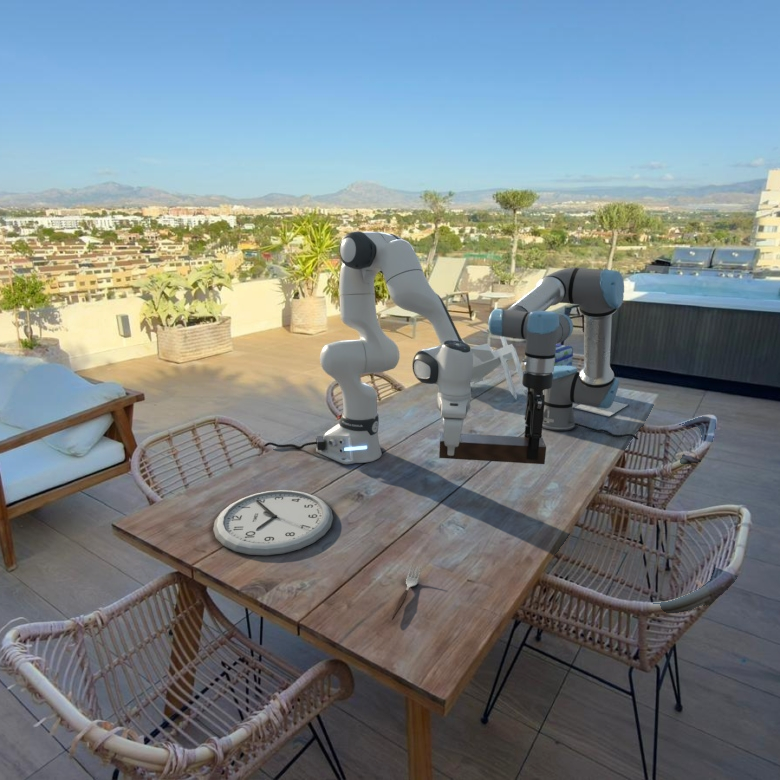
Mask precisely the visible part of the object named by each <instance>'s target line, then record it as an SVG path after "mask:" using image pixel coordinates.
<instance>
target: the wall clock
mask: <svg viewBox="0 0 780 780" xmlns="http://www.w3.org/2000/svg"><path fill="white" fill-rule="evenodd" d="M333 520H334V516H333V511H332V509H331V507H330V506H329V505H328V503H327V502H325V501H324V500H322V499H321V498H320V497H318V496H315V495H313V494H310V493H307V492H303V491H298V490H287V489H286V490H285V489H280V490H279V489H277V490H267V491H262V492H258V493H257V492H256V493H253V494H250V495H247V496H245V497H241V498H240V499H238V500H236V501H234V502H233V503H230V504H229V505H228V506H227V507H225V508H224V509H223V510H222V511H220V512H219V513H218V516H217V517H216V518H215V519H214V523H213V529H212V530H213V533H214V536H215V540H217V541H218V542H219V543H220V544H221V545H222V546H223V547H225V548H227V549H229V550H231V551H233V552H236V553H241V554H244V555H249V556H250V555H251V556H252V555H253V556H273V555H281V554H282V555H283V554H286V553H292V552H294V551H299V550H301V549H304V548H305V547H307V546H310V545H312V544H314V543H316V542H317V541H319V540H320V539H321V538H323V537H324V536H325V535H326V534H327V533H328V532H329V530H330V529H331V527H332V525H333Z"/></svg>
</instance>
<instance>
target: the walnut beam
mask: <svg viewBox="0 0 780 780" xmlns="http://www.w3.org/2000/svg"><path fill="white" fill-rule="evenodd" d="M528 438H529V437H524V436H513V435H512V436H511V435H494V434H477V433H476V434H475V433H461V437H460V442H459V445H458V447H455V449H454V455H453V456H449V455H448V454H447V451H448V447H447V446H445V443H444V432H440V436H439V451H438V452H439V454H438V455H439V456H438V457H439V459H447V460H449V459H450V460H462V461H463V460H467V461H480V462H482V461H483V462H497V463H514V464H515V463H516V464H517V463H518V464H531V465H533V464H534V465H545V463H546V456H547V455H546V454H547V445H546V443H545V441H544V439H543V438H544V437H541V438H540V439H539V449H538V459H537V460H531V459H527V449H528Z"/></svg>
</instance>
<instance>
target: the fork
mask: <svg viewBox="0 0 780 780" xmlns="http://www.w3.org/2000/svg"><path fill="white" fill-rule="evenodd" d="M412 568H413V565H410V569H409V572H408V574H407V577H406V579H405V584H406V589H405V590H404V591H403V593H402V594H401V596H400V597H399V599H398V601H397V604H396V607H395V609H394V612H393V614H392V617H391V620H394V619H395V617H396V615H397V614H398V613H399V611H400V609H401V608H402V607H403V605H404V603H405V601H406V598H407V596H408V592H409V590H410V588H413V587H415V586H417V585H418V583H419V579H420V575H421V572H422V568H420V569H419V567H416V566H414V568H413V569H412ZM415 569H416V571H415ZM418 570H419V572H418Z"/></svg>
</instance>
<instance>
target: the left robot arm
mask: <svg viewBox="0 0 780 780" xmlns="http://www.w3.org/2000/svg"><path fill="white" fill-rule="evenodd" d="M338 251H339V252H338V254H339V257H340V260H341V262H342V264H341V266H340V271H339V281H338V293H339V309H340V310H339V311H340V312H339V313H340V320H341V322H342V323H343V324H344V325H345V326H347V327H348V328H351V329H353V330H355V331H356V332H357V333H358V336H359V339H350V340H349V339H348V340H347V339H346V340H337V341H333V342H330V343H327V344H325V345H324V346H323V347H322V348H321V351H320V354H319V365H320V366H321V368H322V370H323V372H324V373H325V374H327V375H328V376H330V378H332V379H333V380H335V382H336V383H337V385H338V386H339V388H340V391H341V396H342V406H343V407H342V408H343V409H342V413H340V414H339V415H337V416H336V420H339V421H338V423H336V425H334V426H332V427H331V428H330V429H328V430H327V431H325V433H324V435H316V436H315V441H310V442H305V443H303V444H301V445H298V444H293V443H286V444H279V443H275V442H272V441H268V442H266V443H265V444H264V445H263V447H265V448H266V447H268V446H273V447H277V448H295V449H301V450H302V449H303V448H304V447H307V446H312V445H313V446H314V445H316V447H315V453H318V454H320V455H322V456H324V457H326V458H329V459H331V460H334V461H335V462H338V463H339V464H342V465H352V464H364V463H370V462H371V463H372V462H374V461H376V460H378V459H380V458H381V457H382V455H383V453H382V452H383V451H382V450H381V445H380V440H379V425H380V424H379V421H380V420H379V413H378V392H377V390H376V389H375V388H374V387H373V386H372V385H370V384H368V383H366V382H363V381H361V375H367V374H368V375H369V374H379V373H385V372H388V371H391V370H394V369H395V368H396V367H397V365H398V364H399V361H400V348H399V347H398V345H397V344H396V342H395V341H394V340H392V339H391V338H390V337H389V336H388V335H387V334H386V333H385V332H384V330H383V329H382V327H381V326H380V323H379V319H378V314H377V306H376V304H377V303H376V291H375V290H376V289H375V278H376V276H377V275H378V273H380V274H381V275H383V278H384V282H385V285H386V288H387V292H388V295H389V297H390V299H391V301H392V303H394V305H396V307H398V308H400V309H402V310H405V311H408V312H410V313H411V312H412V313H414V314H418V315H419V316H422V317H423V318H425V319H426V320H427V321H428V322H429V323H430V324H431V326H432V329H433V331H434V333H435V335H436V337H437V339H438V341H439V345H437V346H434V347H429V348H424V349H421V350H418V351H417V352H416V353H415V355H414V357H413V360H412V371H413V375H414V377H415V378H416V379H417V380H418V381H419V382H420V383H422V384H426V385H427V384H428V385H437V400H436V401H437V403H436V405H437V406H436V407H437V409H438V410H439V413H440V418H442V427H443V428H442V429H443V431H442V432H443V433H444V443H445V446H447V447H448V451H447V454H448V455H449V456H453V455H454V449H455V447H458V445H459V442H460V437H461V434H462V431H463V426H464V420H465V419H466V418H467V414H468V412H469V410H470V409H471V397H472V388H471V382H470V381H471V379H472V372H473V355H472V350H471V347H472V346H470V344H468V343H466V342H465V341H464V342H465V343H464V342H463V341H462V339H463V338H461V336H460V333H459V331H458V330H457V327H456V325H455V323H454V320H453V319H452V317H451V315H450V312H449V311H448V308H447V306H446V304H445V302H444V301H443V299H442V297H441V296H440V295H439V294H437V292H436V291H435V290H434V289H433V288H432V287H431V285H430V283H429V281H428V279H427V278H426V275H425V273H424V269H423V267H422V264H421V262H420V260H419V257H418V255H417V253H416V251H415V250H414V248H413V246H412V244H411V243H410V242H409V241H407V240H405V239H402V238H401V237H400V236H398V235H396V234H393V233H386V232H382V231H360V230H357V231H351V232H348V233H346V234H345V235H344V236H342V238H341V240H340V243H339V249H338Z"/></svg>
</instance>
